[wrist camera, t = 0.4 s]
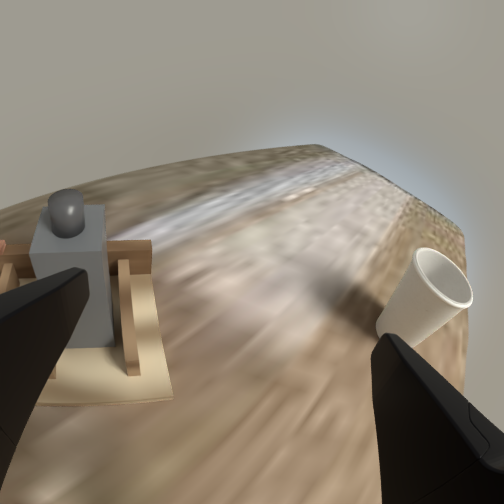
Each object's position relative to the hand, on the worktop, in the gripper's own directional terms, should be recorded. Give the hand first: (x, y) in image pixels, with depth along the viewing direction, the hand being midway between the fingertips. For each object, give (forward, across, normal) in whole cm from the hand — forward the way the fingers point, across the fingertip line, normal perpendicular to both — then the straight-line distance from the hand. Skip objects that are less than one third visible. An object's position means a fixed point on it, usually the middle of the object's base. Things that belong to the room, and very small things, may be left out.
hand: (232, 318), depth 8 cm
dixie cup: (+19, -19, +14) cm, 31 cm away
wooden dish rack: (+8, +17, +14) cm, 23 cm away
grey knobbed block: (+10, +12, +13) cm, 20 cm away
